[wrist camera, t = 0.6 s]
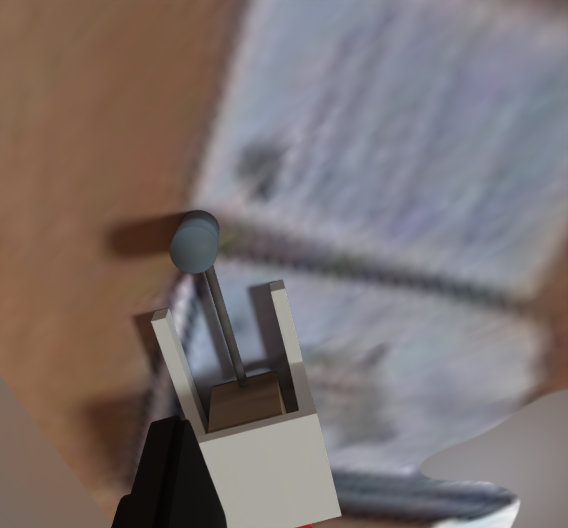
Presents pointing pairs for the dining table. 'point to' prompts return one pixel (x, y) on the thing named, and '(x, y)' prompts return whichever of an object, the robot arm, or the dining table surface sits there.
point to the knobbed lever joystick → (224, 332)
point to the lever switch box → (260, 442)
